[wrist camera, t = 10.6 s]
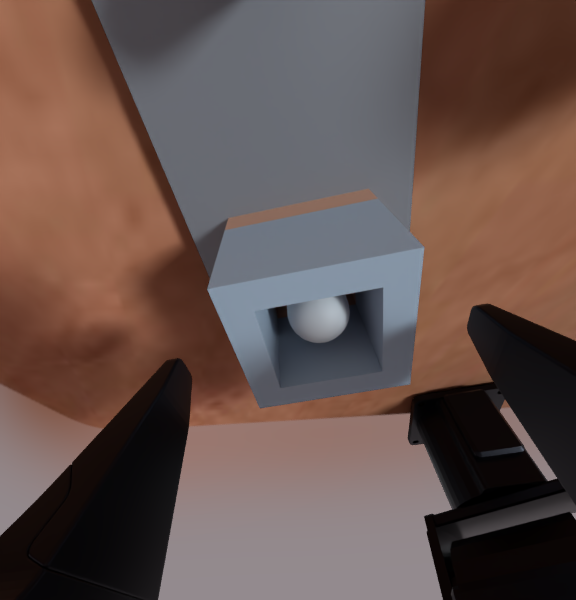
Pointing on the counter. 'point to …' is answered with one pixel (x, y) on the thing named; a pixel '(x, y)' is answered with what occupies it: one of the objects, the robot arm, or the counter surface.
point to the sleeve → (319, 296)
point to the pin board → (274, 108)
